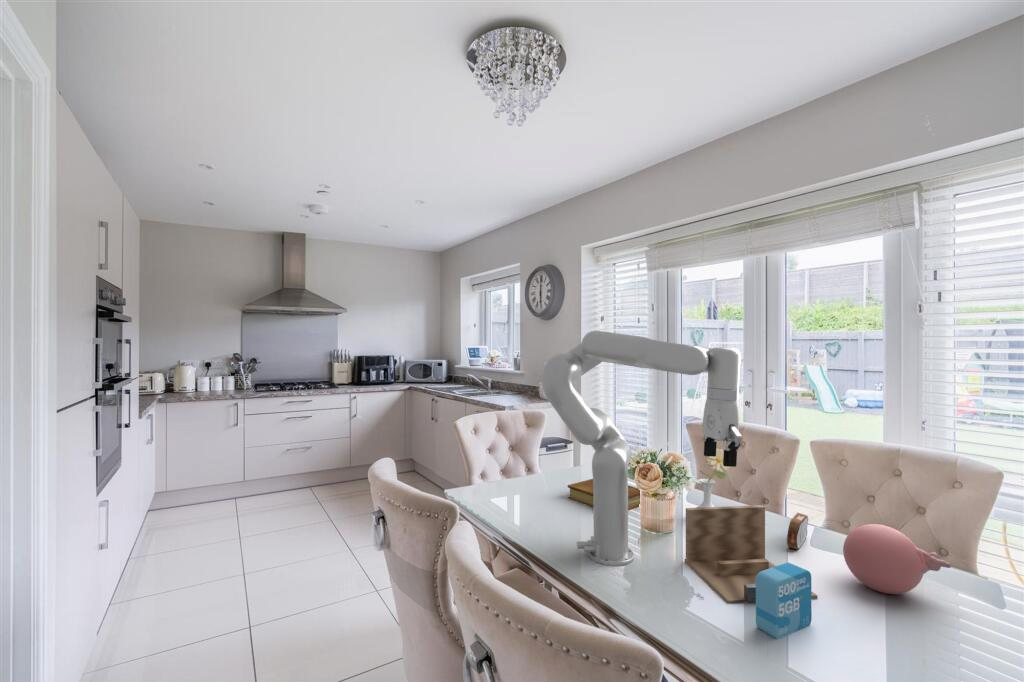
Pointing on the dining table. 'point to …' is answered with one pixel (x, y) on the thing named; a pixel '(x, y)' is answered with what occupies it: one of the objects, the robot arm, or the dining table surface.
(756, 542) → the shelf
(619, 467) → the robot arm
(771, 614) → the data package
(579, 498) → the diary
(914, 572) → the balloon
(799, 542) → the tin
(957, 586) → the dining table surface
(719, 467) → the flower in vase
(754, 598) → the grey rectangular bar
